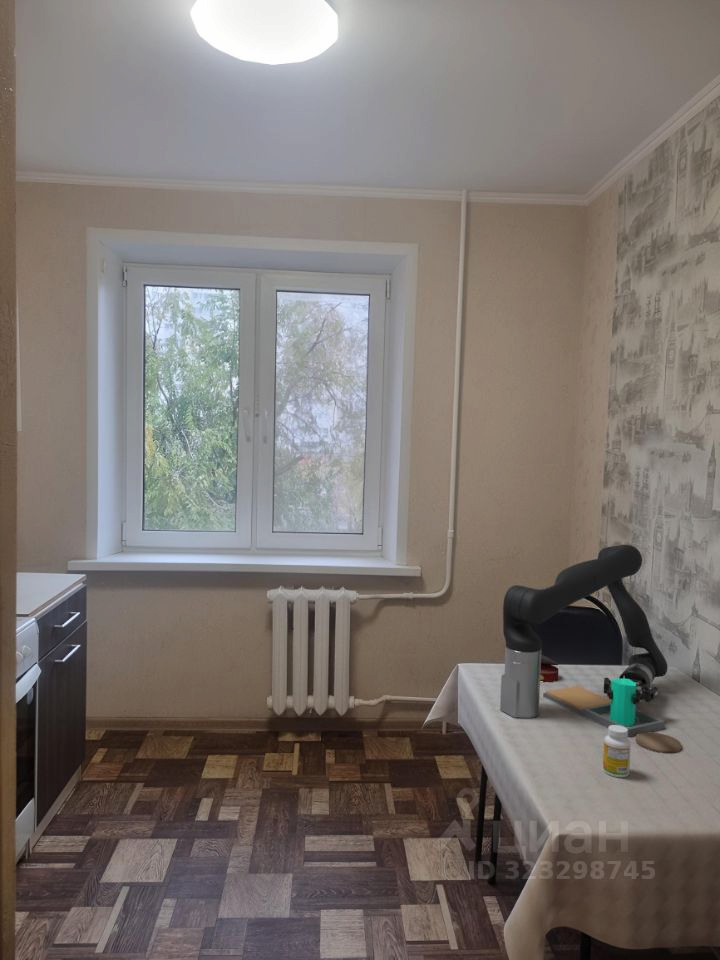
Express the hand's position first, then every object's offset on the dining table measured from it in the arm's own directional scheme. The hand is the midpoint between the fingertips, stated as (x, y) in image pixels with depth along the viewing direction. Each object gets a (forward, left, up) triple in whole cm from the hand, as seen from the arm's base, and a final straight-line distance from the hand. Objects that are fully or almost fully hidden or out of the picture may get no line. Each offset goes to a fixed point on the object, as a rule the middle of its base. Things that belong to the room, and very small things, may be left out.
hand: (622, 697), depth 180 cm
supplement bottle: (-22, -19, -7) cm, 30 cm away
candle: (+2, +1, -7) cm, 8 cm away
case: (+2, +9, -7) cm, 12 cm away
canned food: (+7, +37, -8) cm, 39 cm away
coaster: (-1, -12, -7) cm, 14 cm away
